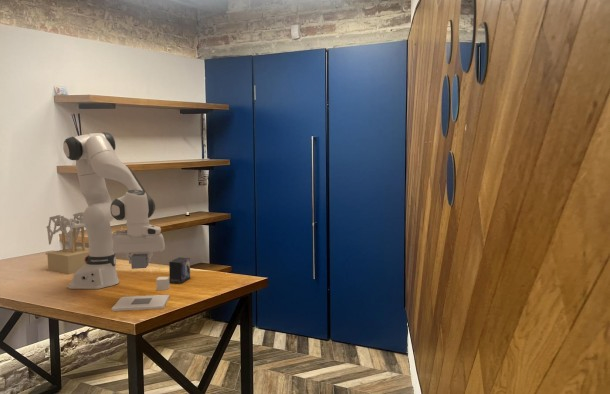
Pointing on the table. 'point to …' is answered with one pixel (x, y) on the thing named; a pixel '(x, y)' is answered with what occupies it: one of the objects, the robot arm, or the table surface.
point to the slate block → (139, 260)
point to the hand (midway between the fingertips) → (140, 263)
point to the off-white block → (162, 283)
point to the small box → (179, 270)
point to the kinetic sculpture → (74, 256)
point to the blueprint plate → (141, 302)
